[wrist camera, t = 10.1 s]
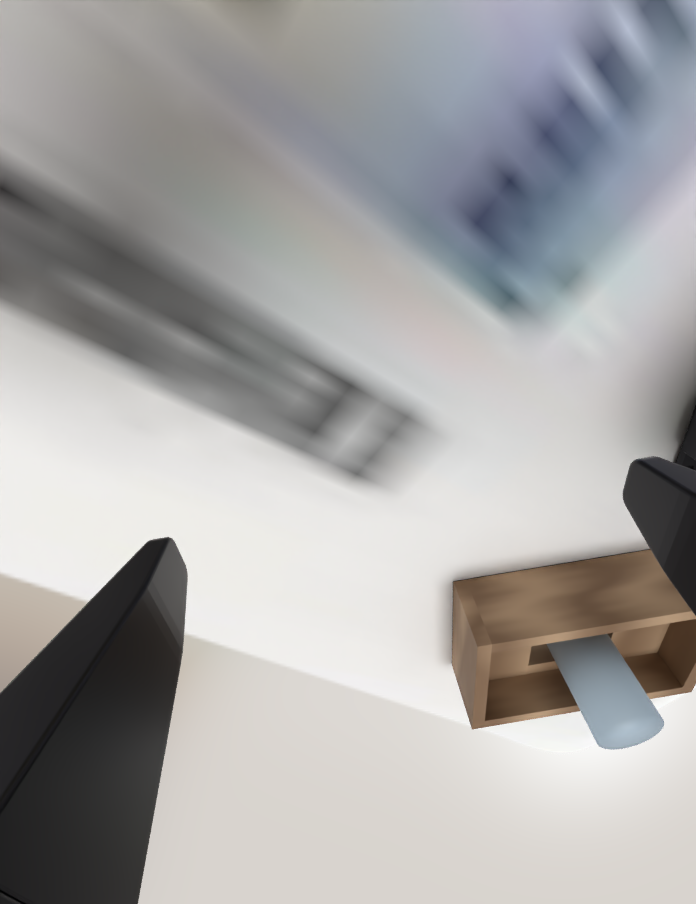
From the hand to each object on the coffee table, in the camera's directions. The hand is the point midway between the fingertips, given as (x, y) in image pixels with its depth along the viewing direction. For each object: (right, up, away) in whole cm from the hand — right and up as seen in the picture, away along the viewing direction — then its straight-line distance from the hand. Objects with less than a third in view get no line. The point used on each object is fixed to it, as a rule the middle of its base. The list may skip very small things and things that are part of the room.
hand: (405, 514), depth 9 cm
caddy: (+13, -9, +22) cm, 28 cm away
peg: (+13, -9, +23) cm, 28 cm away
